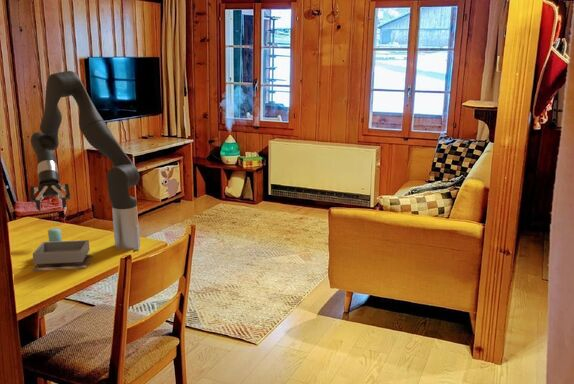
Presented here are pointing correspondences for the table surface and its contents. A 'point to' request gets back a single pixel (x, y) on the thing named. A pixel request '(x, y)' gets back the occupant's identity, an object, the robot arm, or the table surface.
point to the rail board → (64, 265)
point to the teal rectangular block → (54, 235)
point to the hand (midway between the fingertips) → (51, 209)
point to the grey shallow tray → (61, 252)
